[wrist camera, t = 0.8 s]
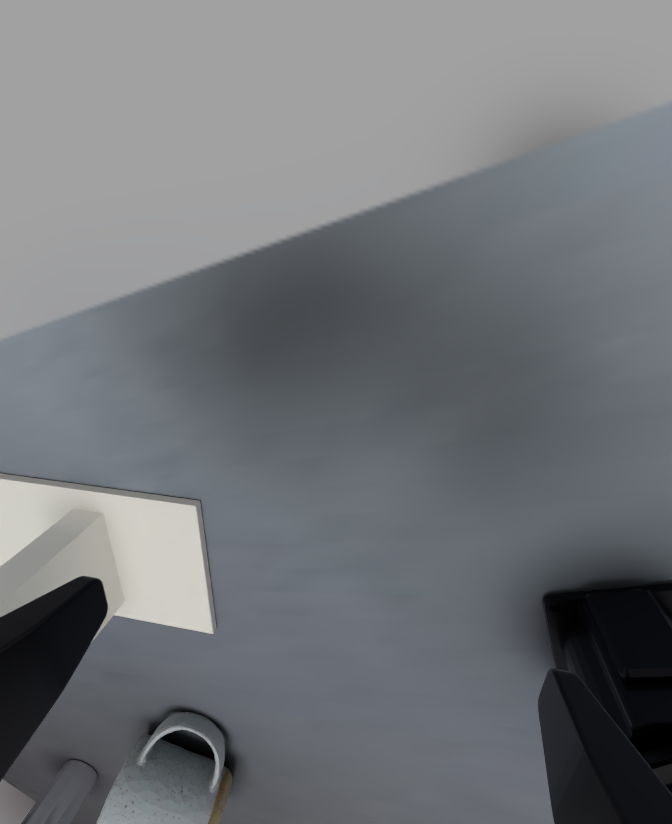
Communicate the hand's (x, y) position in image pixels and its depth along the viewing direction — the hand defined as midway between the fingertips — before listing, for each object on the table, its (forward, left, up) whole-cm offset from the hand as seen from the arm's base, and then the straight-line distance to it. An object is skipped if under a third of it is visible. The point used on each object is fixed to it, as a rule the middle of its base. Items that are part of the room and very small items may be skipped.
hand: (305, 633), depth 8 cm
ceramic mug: (-25, +23, -12) cm, 36 cm away
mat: (-4, +22, -12) cm, 25 cm away
